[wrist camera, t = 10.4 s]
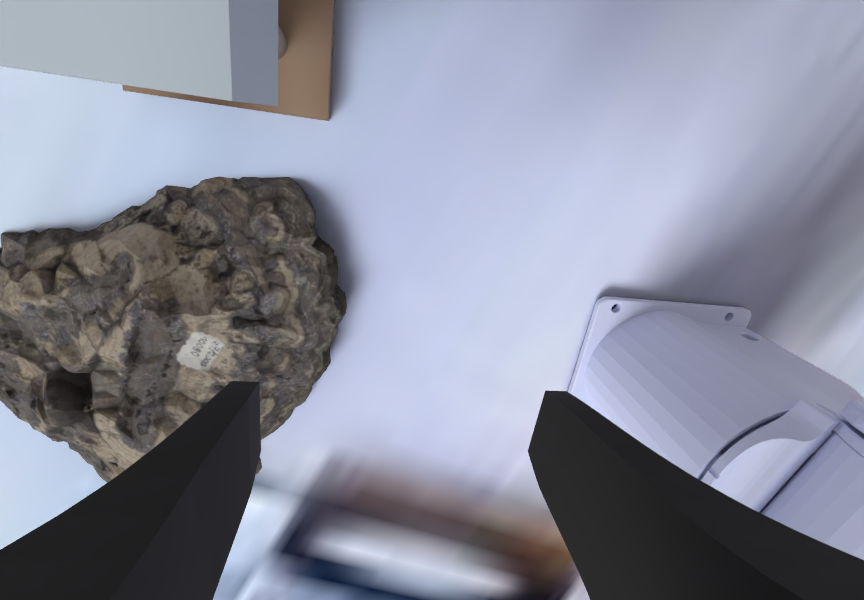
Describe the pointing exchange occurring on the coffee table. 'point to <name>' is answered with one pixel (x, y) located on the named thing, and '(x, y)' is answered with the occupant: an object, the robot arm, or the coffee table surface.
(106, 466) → the geode
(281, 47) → the peg stand
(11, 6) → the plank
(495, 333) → the coffee table surface
